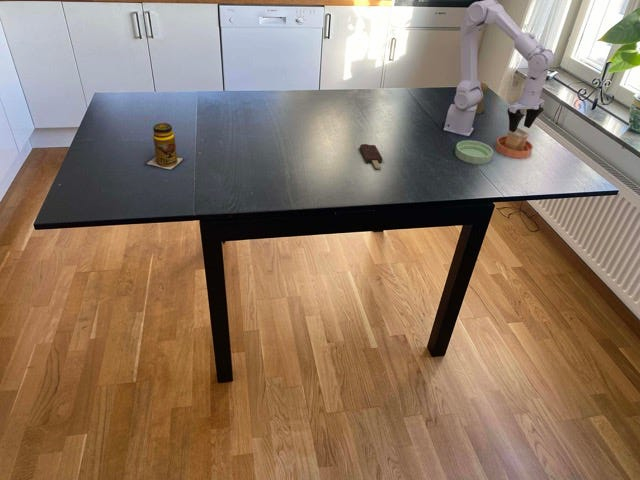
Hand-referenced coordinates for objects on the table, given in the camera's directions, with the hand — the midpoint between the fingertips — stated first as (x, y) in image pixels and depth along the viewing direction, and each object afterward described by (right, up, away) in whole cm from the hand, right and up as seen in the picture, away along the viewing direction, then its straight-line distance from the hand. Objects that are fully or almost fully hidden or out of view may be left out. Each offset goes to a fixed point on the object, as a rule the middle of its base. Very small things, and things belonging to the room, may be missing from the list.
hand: (519, 128), depth 170 cm
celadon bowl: (-16, -9, 0) cm, 18 cm away
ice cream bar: (-50, -11, -6) cm, 52 cm away
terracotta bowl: (0, -7, +5) cm, 8 cm away
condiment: (-115, -14, -15) cm, 116 cm away
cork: (-5, +14, +32) cm, 35 cm away
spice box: (0, -6, +5) cm, 8 cm away
